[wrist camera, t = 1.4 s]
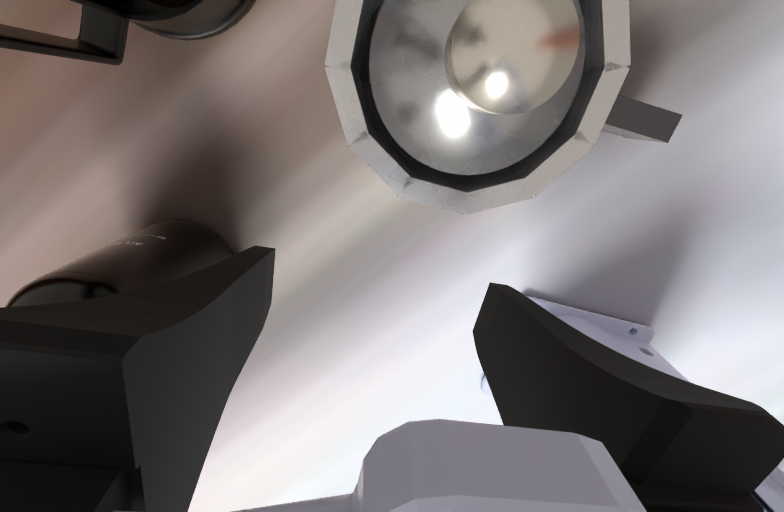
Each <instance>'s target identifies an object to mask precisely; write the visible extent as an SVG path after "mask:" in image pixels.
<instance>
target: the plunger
mask: <svg viewBox="0 0 784 512" xmlns="http://www.w3.org/2000/svg"><path fill="white" fill-rule="evenodd" d="M584 58H585V29H584V21H583V16H582V12H581V8H580V4H579V2H578V0H385V1H384V3H383V5H382V8H381V10H380V12H379V15H378V17H377V20H376V24H375V27H374V31H373V34H372V40H371V47H370V59H369V71H370V83H371V88H372V93H373V98H374V101H375V104H376V107H377V110H378V112H379V114H380V117H381V119H382V121H383V123H384V125H385V126H386V128H387V129H388V131H389V133H390V134H391V136H392V137H393V138H394V139H395V140H396V142H397V143H398V144H399V145H400V146H401V147H402V148H403V149H404V150H405V151H406V152H407V153H408V154H410V155H411V156H412V157H414V158H415V159H417V160H418V161H420V162H421V163H423V164H425V165H427V166H429V167H431V168H434V169H437V170H440V171H442V172H447V173H452V174H460V175H477V174H484V173H489V172H494V171H497V170H500V169H503V168H506V167H508V166H510V165H512V164H514V163H517V162H518V161H520V160H522V159H523V158H525V157H526V156H528V155H530V154H531V153H532V152H533V151H535V150H536V149H537V148H538V147H540V146H541V145H542V144H543V143H544V142H545V141H546V140H547V139H548V138H549V137H550V136H551V134H552V133H553V132H554V131H555V129H556V128H557V127H558V126H559V124H560V123H561V121H562V120H563V118H564V117H565V115H566V113H567V112H568V110H569V108H570V106H571V104H572V102H573V100H574V98H575V95H576V92H577V89H578V86H579V84H580V80H581V75H582V71H583V67H584Z"/></svg>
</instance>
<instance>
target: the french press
mask: <svg viewBox="0 0 784 512" xmlns="http://www.w3.org/2000/svg"><path fill="white" fill-rule="evenodd" d="M71 1H74V2H77V3H80V4H83V7H82V16H81V24H80V33H79V36H78V39H74V40H73V39H68V38H64V37H59V36H54V35H50V34H45V33H40V32H35V31H31V30H26V29H21V28H17V27H12V26H7V25H3V24H0V47H1V48H7V49H14V50H20V51H27V52H33V53H40V54H46V55H53V56H59V57H66V58H72V59H79V60H85V61H92V62H98V63H105V64H111V65H120V64H121V63H122V61H123V57H124V52H125V46H126V39H127V33H128V26H129V20H130V21H131V22H133V23H135V24H136V25H138V26H140V27H142V28H143V29H145V30H147V31H150V32H153V33H156V34H158V35H161V36H164V37H167V38H173V39H180V40H198V39H206V38H209V37H212V36H215V35H218V34H221V33H223V32H224V31H226V30H227V29H229V28H230V27H232V26H234V25H235V24H237V23H238V22H239V21H240V20H241V19H242V18H243V16H244V15H245V14H246V13H247V12H248V11H249V10H250V9H251V7H252V5H253V4H254V2H255V0H195V1H193V2H192V3H190V4H189V5H187V6H186V7H184V8H171V7H164V6H160V5H157V4H154V3H152V2H149V1H148V0H71Z"/></svg>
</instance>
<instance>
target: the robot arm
mask: <svg viewBox="0 0 784 512" xmlns="http://www.w3.org/2000/svg"><path fill="white" fill-rule="evenodd" d="M274 261H275V249H274V248H267V247H261V246H253V247H251V248H248V249H246V250H244V251H242V252H240V253H238V254H236V255H234V256H231V257H229V258H227V259H225V260H223V261H221V262H219V263H216V264H214V265H212V266H209V267H207V268H204V269H202V270H199V271H197V272H194V273H192V274H189V275H187V276H184V277H181V278H178V279H175V280H172V281H169V282H165V283H162V284H158V285H155V286H151V287H147V288H143V289H138V290H134V291H129V292H124V293H120V294H115V295H110V296H104V297H98V298H92V299H85V300H78V301H70V302H62V303H53V304H42V305H29V306H16V307H4V308H0V512H188V508H189V505H190V502H191V500H192V497H193V494H194V491H195V488H196V485H197V482H198V479H199V476H200V473H201V470H202V468H203V465H204V462H205V459H206V456H207V453H208V451H209V448H210V445H211V442H212V440H213V437H214V434H215V431H216V429H217V426H218V423H219V421H220V418H221V415H222V413H223V410H224V407H225V405H226V402H227V400H228V397H229V395H230V393H231V390H232V388H233V386H234V384H235V382H236V380H237V378H238V376H239V374H240V372H241V370H242V368H243V366H244V364H245V362H246V360H247V358H248V357H249V355H250V353H251V351H252V349H253V347H254V345H255V343H256V341H257V339H258V337H259V335H260V333H261V331H262V329H263V326H264V323H265V320H266V318H267V315H268V312H269V308H270V305H271V300H272V287H273V274H274ZM631 329H633V330H632V331H631V332H629V331H630V330H631ZM473 336H474V341H475V346H476V350H477V354H478V358H479V360H480V363H481V366H482V369H483V371H484V374H485V376H484V378H483V380H482V383H481V389H482V391H483V392H484V393H486V394H490V395H493V397H494V400H495V402H496V405H497V408H498V410H499V413H500V416H501V419H502V422H503V425H504V426H503V425H493V424H483V423H474V422H464V421H454V420H444V419H433V420H421V421H410V422H407V423H405V424H403V425H401V426H399V427H397V428H395V429H393V430H391V431H389V432H387V433H385V434H383V435H382V436H380V437H378V438H377V440H376V441H375V443H374V444H373V446H372V447H371V449H370V450H369V452H368V453H367V455H366V456H365V458H364V460H363V464H362V468H361V472H360V475H359V479H358V483H357V485H356V487H355V490H354V492H353V493H352V494H346V495H339V496H332V497H326V498H319V499H312V500H306V501H299V502H292V503H286V504H279V505H272V506H266V507H259V508H252V509H246V510H239V511H232V512H784V473H783V472H782V471H781V470H780V469H779V468H778V467H777V466H778V464H779V463H780V462H781V461H782V459H783V458H784V425H783V424H781V423H780V422H779V421H778V420H777V419H775V418H774V417H773V416H772V415H771V414H769V413H768V412H767V411H766V410H765V409H763V408H762V407H760V406H758V405H756V404H754V403H752V402H749V401H746V400H742V399H739V398H736V397H733V396H730V395H727V394H723V393H720V392H717V391H714V390H711V389H707V388H704V387H701V386H698V385H696V384H693V383H690V382H689V381H688V380H687V379H686V378H685V377H684V376H683V375H682V374H680V373H679V372H678V371H677V370H676V369H675V368H674V367H673V366H672V365H671V364H670V363H669V362H668V361H666V360H665V359H664V358H663V357H662V356H661V355H660V354H659V353H658V352H657V351H656V350H655V349H654V348H652V347H651V346H650V345H649V343H650V341H651V339H652V338H653V336H654V331H653V330H652V329H651V328H650V327H648V326H645V325H641V324H637V323H633V322H629V321H625V320H621V319H617V318H613V317H609V316H605V315H601V314H597V313H593V312H589V311H585V310H581V309H577V308H573V307H569V306H566V305H562V304H558V303H554V302H550V301H546V300H542V299H538V298H534V297H530V296H525V295H523V294H522V293H520V292H519V291H517V290H515V289H514V288H512V287H510V286H508V285H503V284H496V283H490V284H489V287H488V289H487V292H486V295H485V298H484V301H483V303H482V306H481V309H480V312H479V315H478V317H477V320H476V323H475V326H474V329H473Z"/></svg>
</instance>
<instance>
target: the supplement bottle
mask: <svg viewBox="0 0 784 512" xmlns="http://www.w3.org/2000/svg"><path fill="white" fill-rule="evenodd" d="M231 256H234V255H233V254H232V252H231V250H230V249H229V248H228V246H227V245H226V244H225V243H224V242H223V241H222V240H221V239H220V238H219V237H218V236H217V235H215V234H214V233H213V232H211V231H210V230H208V229H206V228H204V227H202V226H200V225H197V224H194V223H191V222H187V221H180V220H168V221H162V222H158V223H155V224H152V225H150V226H148V227H145V228H143V229H141V230H138V231H136V232H134V233H132V234H130V235H128V236H126V237H124V238H122V239H120V240H117V241H115V242H113V243H111V244H109V245H107V246H105V247H103V248H101V249H98V250H96V251H94V252H92V253H90V254H88V255H86V256H84V257H82V258H79V259H77V260H75V261H73V262H71V263H69V264H67V265H65V266H63V267H61V268H58V269H56V270H54V271H52V272H50V273H48V274H46V275H44V276H42V277H40V278H38V279H36V280H34V281H32V282H31V283H29V284H27V285H25V286H24V287H22V288H21V289H20V290H19V291H17V292H16V293H15V294H14V295H13V296H12V298H11V299H10V300H9V302H8V303H7V305H6V306H5V307H16V306H29V305H42V304H53V303H62V302H70V301H78V300H85V299H92V298H98V297H104V296H110V295H115V294H120V293H124V292H129V291H134V290H138V289H143V288H147V287H151V286H155V285H158V284H162V283H165V282H169V281H172V280H175V279H178V278H181V277H184V276H187V275H189V274H192V273H194V272H197V271H199V270H202V269H204V268H207V267H209V266H212V265H214V264H216V263H219V262H221V261H223V260H225V259H227V258H229V257H231Z"/></svg>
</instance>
